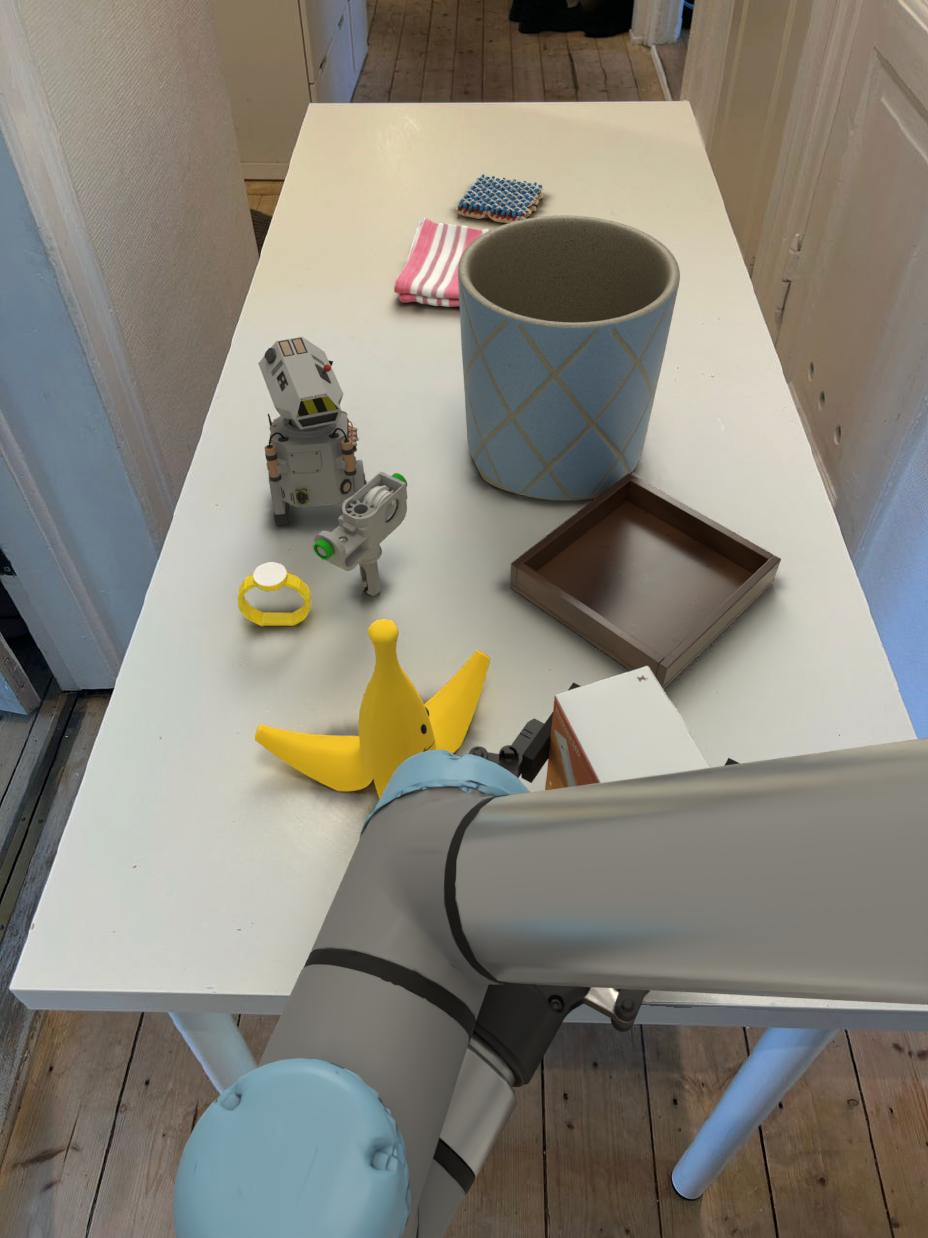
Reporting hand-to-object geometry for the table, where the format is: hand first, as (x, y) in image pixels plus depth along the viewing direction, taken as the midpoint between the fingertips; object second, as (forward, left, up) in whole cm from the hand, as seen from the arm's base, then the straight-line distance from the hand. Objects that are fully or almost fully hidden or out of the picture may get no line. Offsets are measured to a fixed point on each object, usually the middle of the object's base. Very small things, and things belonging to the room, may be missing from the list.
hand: (650, 733), depth 57 cm
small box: (-1, +4, -7) cm, 9 cm away
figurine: (+43, -7, -11) cm, 45 cm away
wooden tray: (+13, -19, -11) cm, 25 cm away
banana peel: (+17, +10, -11) cm, 23 cm away
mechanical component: (+30, -2, -11) cm, 32 cm away
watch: (+33, +6, -11) cm, 35 cm away
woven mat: (+72, -64, -11) cm, 97 cm away
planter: (+31, -28, -11) cm, 43 cm away
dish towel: (+59, -49, -11) cm, 77 cm away
